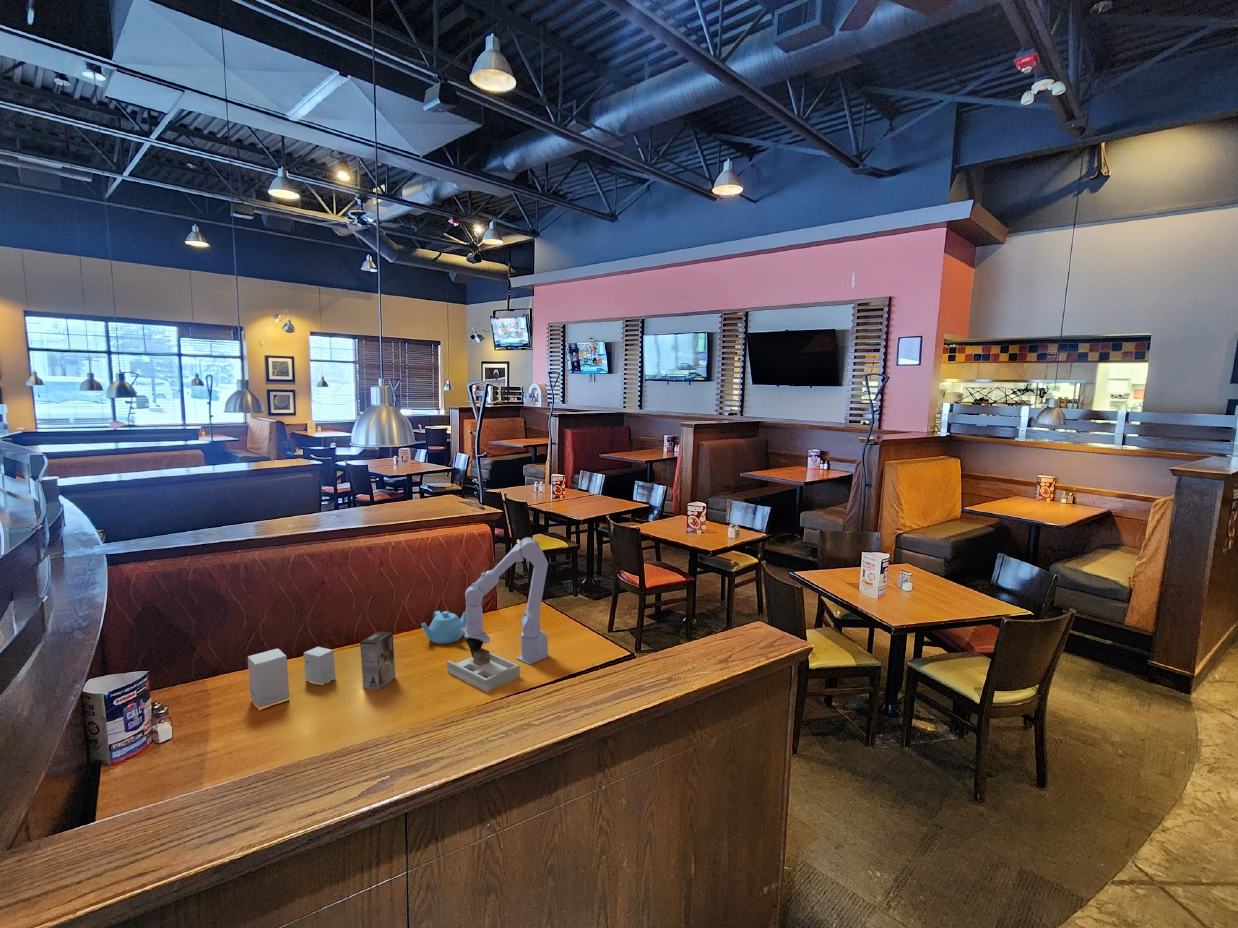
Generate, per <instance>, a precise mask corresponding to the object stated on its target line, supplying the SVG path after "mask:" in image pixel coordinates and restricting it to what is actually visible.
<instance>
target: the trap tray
mask: <svg viewBox="0 0 1238 928" xmlns="http://www.w3.org/2000/svg"><path fill="white" fill-rule="evenodd" d="M489 654H490V662H489V663H487V664H484V665H482V666H479V665H477V664H475V663H474V662H473V657H472V656H471V657H469V658H466V659H464V660H462V661H458V662H453V660H447V661H446V665H447V673H448V674H449V675H452V676H454V677H455V678H457V679H459V680H461V681H464V682H466V683H467V684H469V685H471V686H472V687H474V688H477V689H478V690H481V691H483V692H485V693H487V692H490V691H492V690H495V689H496V688H498V687H502V686H503V685H505V684H508V683H510V682H511V681H513V680H515V679H516V680H517V679H518V678H520V677H521V673H520V672H521V671H520V670H521V667H520V665H519V664H517V663H516V662H513V661H511V660H508V659H506V658H503V657H501V656H499V655H497V654H494V653H493V652H490V651H489Z"/></svg>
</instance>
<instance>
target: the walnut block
mask: <svg viewBox="0 0 1238 928" xmlns="http://www.w3.org/2000/svg"><path fill="white" fill-rule="evenodd" d="M489 652H490V651H489V650H488V649H486V648H482V647H481V649H479V650H477V651H474V652H473V662H474V663H475V664H477V665H479V666H482V665H484V664H487V663H489V662H490V654H489Z"/></svg>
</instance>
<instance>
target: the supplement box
mask: <svg viewBox="0 0 1238 928" xmlns="http://www.w3.org/2000/svg"><path fill="white" fill-rule="evenodd" d="M247 668H248V679H249V693H250V700H251V699H252V700H253V702H254V703H255V704H256V705H257V707H262V706H267V705H270V704H273V703H276V702H279V701H282V700H285V699H288V698H290V687H289V673H288V672H289V671H288V669H289V668H288V658H287V655H286V654H285V653H284V652H283V651H282V650H281V649H279V648H274V649H271V650H267V651H263V652H258V653H255V654H252V655H248V656H247Z"/></svg>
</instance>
